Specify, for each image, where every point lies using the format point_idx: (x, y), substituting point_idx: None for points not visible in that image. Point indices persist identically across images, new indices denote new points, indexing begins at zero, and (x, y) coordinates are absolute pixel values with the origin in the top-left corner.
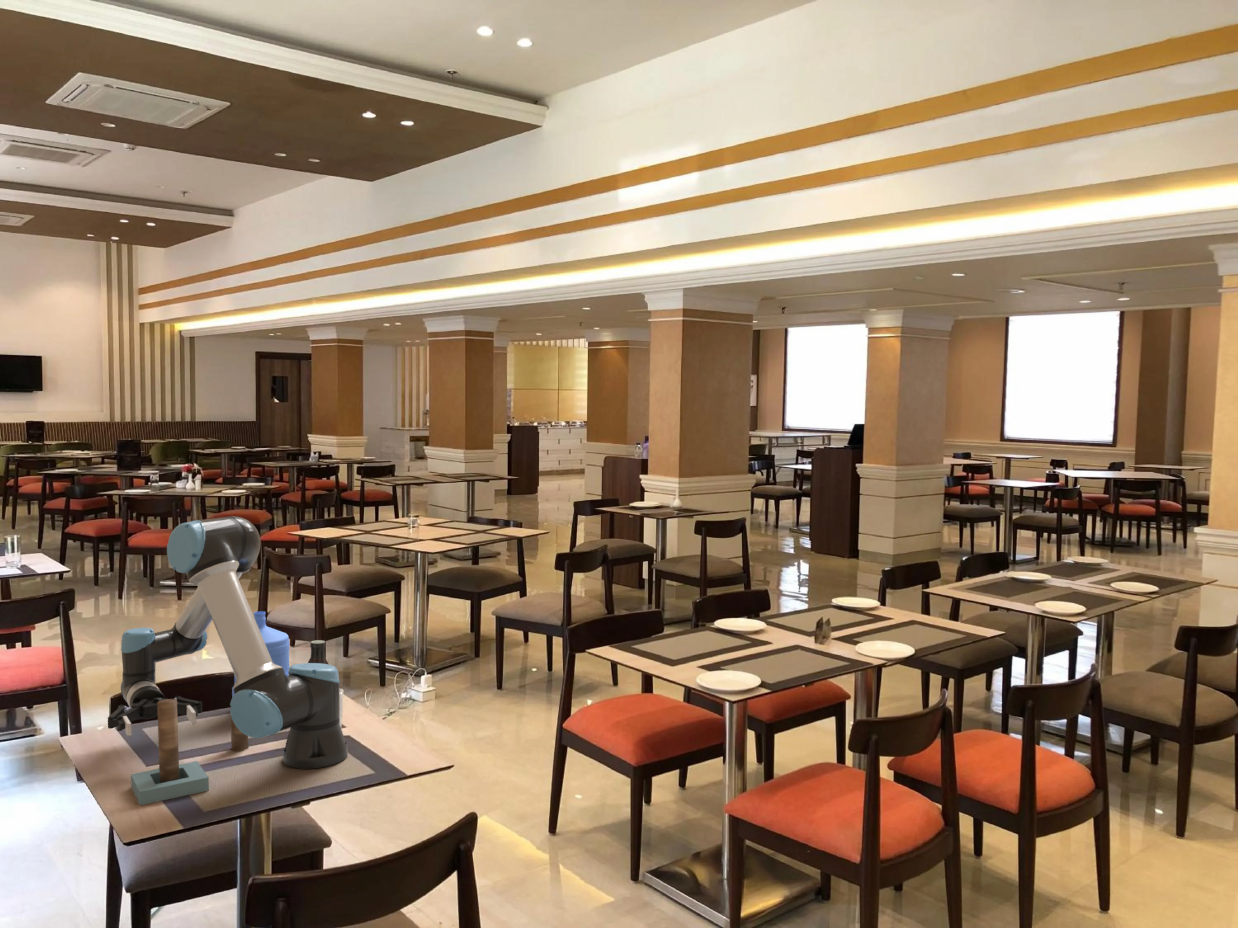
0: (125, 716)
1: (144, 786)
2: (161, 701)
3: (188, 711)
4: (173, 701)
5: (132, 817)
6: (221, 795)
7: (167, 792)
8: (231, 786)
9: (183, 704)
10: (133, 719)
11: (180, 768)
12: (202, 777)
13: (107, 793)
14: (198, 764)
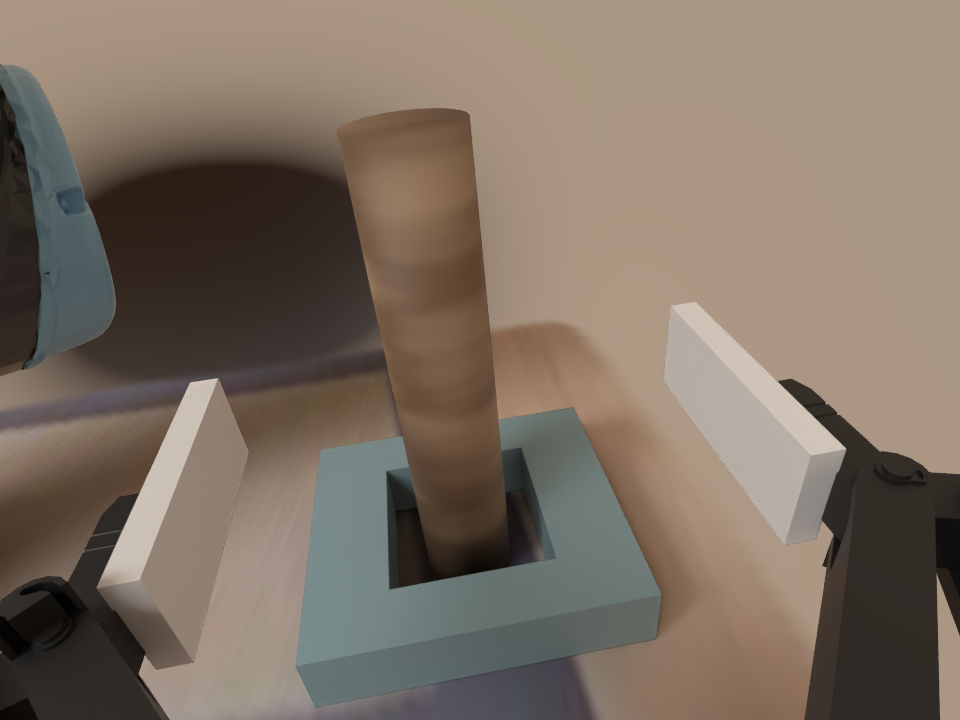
0: (810, 440)
1: (562, 441)
2: (440, 126)
3: (188, 525)
4: (364, 125)
5: (582, 385)
6: (311, 441)
7: None
8: (251, 496)
9: (125, 687)
10: (805, 717)
11: (403, 588)
12: (341, 455)
13: (756, 598)
14: (307, 604)
